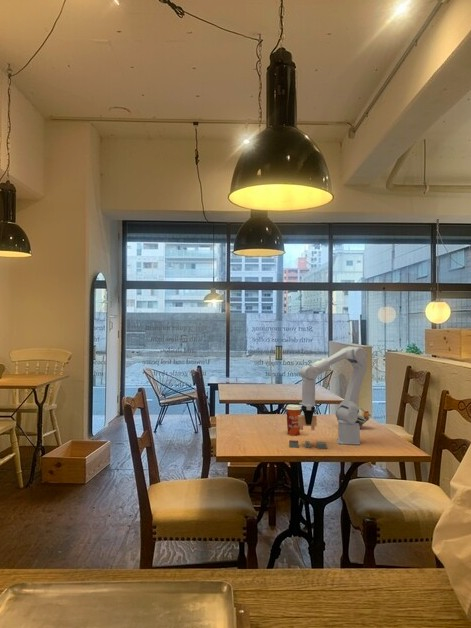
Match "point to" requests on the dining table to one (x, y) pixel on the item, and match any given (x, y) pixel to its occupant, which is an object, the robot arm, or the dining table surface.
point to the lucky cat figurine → (362, 416)
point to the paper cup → (293, 419)
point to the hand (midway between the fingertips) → (308, 423)
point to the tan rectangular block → (302, 422)
